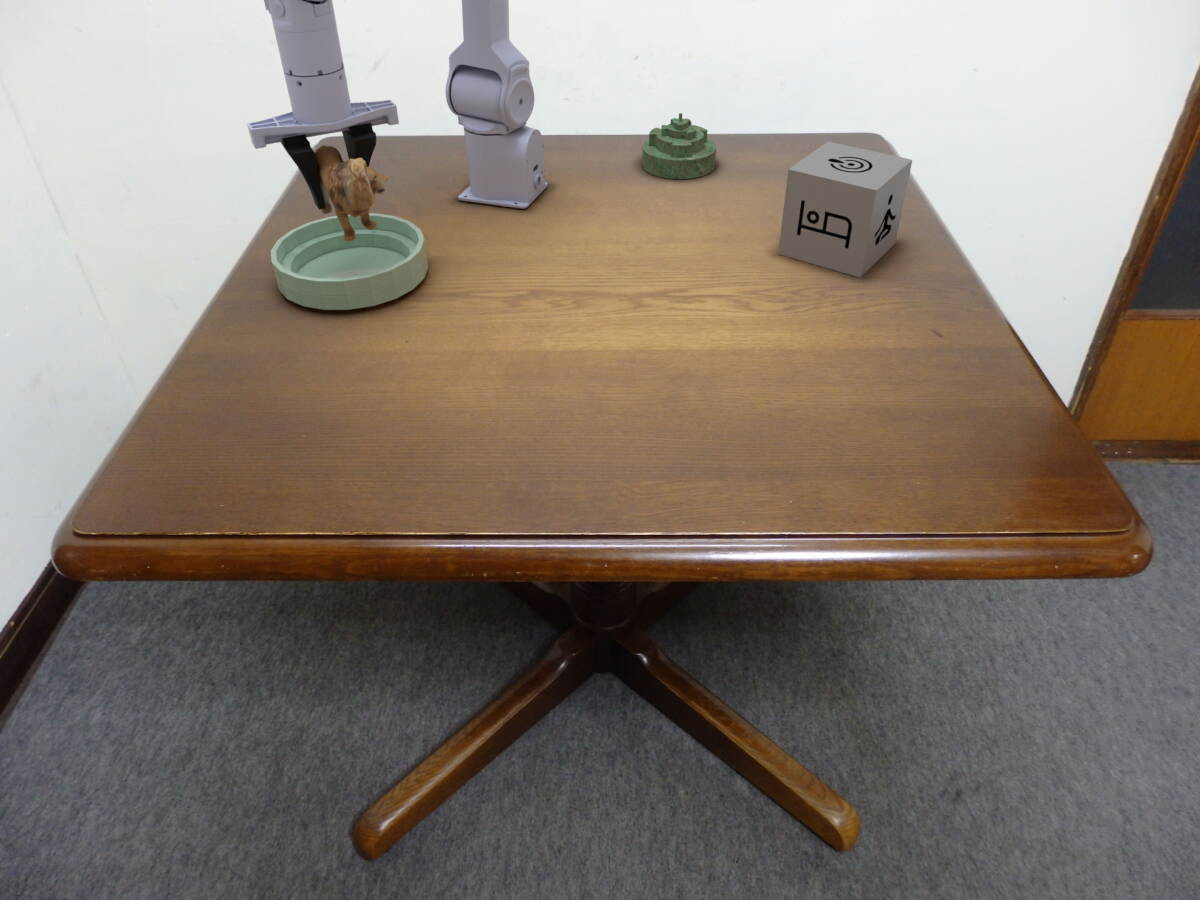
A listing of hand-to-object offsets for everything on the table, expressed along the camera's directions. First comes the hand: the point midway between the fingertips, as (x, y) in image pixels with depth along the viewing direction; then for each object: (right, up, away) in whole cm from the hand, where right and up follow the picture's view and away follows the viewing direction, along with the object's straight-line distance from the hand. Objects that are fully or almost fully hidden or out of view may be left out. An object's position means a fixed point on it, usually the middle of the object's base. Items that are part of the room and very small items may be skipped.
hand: (340, 201), depth 97 cm
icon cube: (+55, -3, +9) cm, 56 cm away
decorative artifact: (+38, +13, +29) cm, 50 cm away
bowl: (0, -7, +5) cm, 9 cm away
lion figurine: (+2, -2, 0) cm, 2 cm away
